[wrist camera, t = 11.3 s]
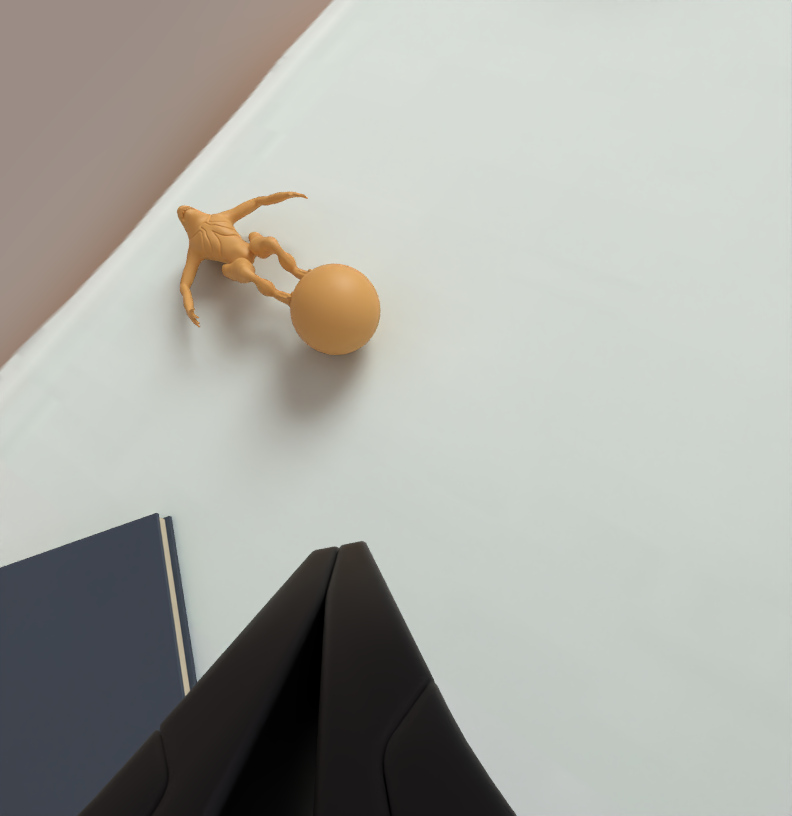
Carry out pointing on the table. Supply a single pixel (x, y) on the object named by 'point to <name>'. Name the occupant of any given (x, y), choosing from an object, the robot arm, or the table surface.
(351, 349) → the figurine
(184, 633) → the notebook
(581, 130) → the table surface
